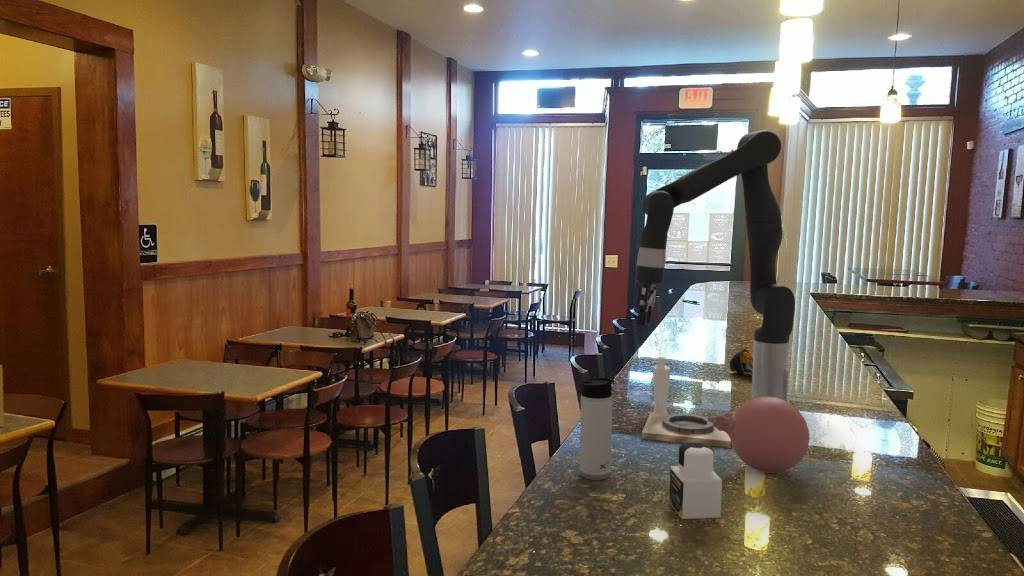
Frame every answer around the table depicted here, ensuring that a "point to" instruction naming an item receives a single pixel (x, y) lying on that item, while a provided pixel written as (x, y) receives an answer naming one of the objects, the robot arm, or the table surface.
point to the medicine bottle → (695, 483)
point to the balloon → (766, 433)
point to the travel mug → (596, 428)
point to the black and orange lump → (742, 363)
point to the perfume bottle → (661, 386)
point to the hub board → (684, 429)
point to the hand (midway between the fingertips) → (643, 323)
